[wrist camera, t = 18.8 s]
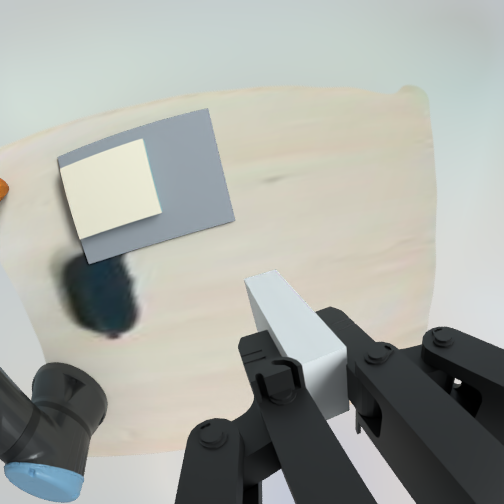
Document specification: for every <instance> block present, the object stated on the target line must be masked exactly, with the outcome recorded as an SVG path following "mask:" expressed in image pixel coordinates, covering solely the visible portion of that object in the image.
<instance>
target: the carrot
mask: <svg viewBox="0 0 504 504" xmlns="http://www.w3.org/2000/svg"><path fill="white" fill-rule="evenodd" d="M8 190H9V186H8V185H7V184H6V182H5V181H4V180H2V179H1V178H0V201H1V200H2V199H3V198H4V196H5V195H6V194H7V192H8Z"/></svg>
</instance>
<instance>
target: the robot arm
mask: <svg viewBox="0 0 504 504" xmlns="http://www.w3.org/2000/svg"><path fill="white" fill-rule="evenodd" d="M244 281H245V285H246V289H247V293H248V297H249V300H250V304H251V308H252V312H253V316H254V319H255V323H256V327H257V330H258V333H255V334H251V335H248V336H245V337H242V338H241V339H240V342H239V345H238V349H239V352H240V355H241V358H242V361H243V364H244V368H245V371H246V374H247V377H248V380H249V382H250V385H251V388H252V391H253V394H254V401H253V403H252V405H251V407H250V408H249V409H248V411H247V412H246V413H244V414H243V415H242V416H240V417H238V418H237V419H235V420H233V421H229V420H227V419H220V418H214V419H210V420H206V421H204V422H202V423H200V424H198V425H197V426H196V427H195V428H194V429H193V430H192V431H191V433H190V435H189V437H188V440H187V445H186V449H185V454H184V459H183V464H182V469H181V474H180V479H179V484H178V489H177V494H176V499H175V504H262V480H264V479H266V478H267V477H269V476H270V475H272V474H273V473H275V472H277V471H278V470H280V469H282V472H283V474H284V477H285V479H286V482H287V484H288V487H289V489H290V491H291V494H292V496H293V498H294V501H295V504H377V502H376V501H375V499H374V497H373V496H372V494H371V493H370V491H369V490H368V488H367V487H366V485H365V483H364V482H363V480H362V478H361V477H360V475H359V474H358V472H357V470H356V469H355V467H354V466H353V464H352V462H351V461H350V459H349V458H348V456H347V454H346V453H345V451H344V449H343V448H342V446H341V445H340V443H339V441H338V440H337V438H336V436H335V435H334V433H333V431H332V430H331V428H330V427H329V425H328V423H327V421H326V420H328V419H330V418H333V417H335V416H337V415H339V414H342V413H344V412H346V411H349V400H350V401H351V403H352V404H353V405H354V407H355V408H356V432H357V434H359V433H361V427H362V428H363V429H364V431H365V432H366V434H367V435H368V436H369V438H370V439H371V441H372V442H373V444H374V445H375V446H376V448H377V449H378V450H379V452H380V453H381V455H382V456H383V458H384V459H385V460H386V462H387V463H388V465H389V466H390V467H391V469H392V470H393V472H394V473H395V475H396V476H397V477H398V479H399V480H400V482H401V483H402V484H403V486H404V487H405V488H406V490H407V491H408V493H409V494H410V495H411V497H412V498H413V499H414V501H415V502H416V504H504V349H501V348H499V347H497V346H494V345H492V344H489V343H487V342H485V341H482V340H480V339H478V338H475V337H473V336H470V335H468V334H466V333H463V332H461V331H458V330H456V329H453V328H449V327H436V328H432V329H431V330H429V331H427V332H426V333H425V335H424V336H423V341H422V345H418V346H414V347H410V348H406V349H398V348H396V347H395V346H393V345H392V344H390V343H385V342H375V341H374V340H373V339H372V338H371V337H369V336H368V335H367V334H366V333H365V332H364V331H363V330H362V329H361V328H360V327H359V326H358V325H357V324H355V323H354V322H353V321H352V320H351V319H349V317H348V316H347V315H346V314H345V313H344V312H343V311H341V310H339V309H336V308H333V307H328V308H325V309H322V310H319V311H317V312H314V311H313V310H312V308H311V307H310V306H309V305H308V304H307V303H306V302H305V301H304V300H303V299H302V297H301V296H300V295H299V294H298V293H297V292H296V291H295V290H294V289H293V288H292V287H291V285H290V284H289V283H288V282H287V281H286V280H285V279H284V278H283V277H282V276H281V274H280V273H279V272H278V271H277V270H276V269H275V270H272V271H269V272H265V273H262V274H259V275H256V276H252V277H249V278H246V279H244ZM455 378H456V379H458V380H461V381H462V383H461V384H455V383H454V380H455ZM107 405H108V404H107V398H106V395H105V393H104V391H103V389H102V388H101V387H100V385H99V384H98V383H97V382H96V381H95V380H94V379H93V378H92V377H91V376H89V375H88V374H87V373H85V372H84V371H82V370H80V369H78V368H76V367H74V366H71V365H68V364H64V363H48V364H45V365H43V366H42V367H41V368H40V369H39V370H38V372H37V373H36V375H35V377H34V379H33V382H32V399H31V400H30V399H29V398H28V397H27V396H26V395H25V394H24V393H23V392H22V391H21V390H20V389H19V388H18V387H17V385H16V384H15V383H14V382H13V381H12V380H11V379H10V378H9V377H8V375H7V374H6V373H5V372H4V371H3V370H2V368H1V367H0V459H1V460H2V461H3V462H4V463H5V466H4V472H5V475H6V477H7V478H8V479H9V481H10V482H12V483H13V484H14V485H15V486H17V487H18V488H20V489H21V490H23V491H25V492H27V493H29V494H31V495H33V496H36V497H38V498H41V499H44V500H48V501H53V502H61V503H62V502H63V503H64V502H71V501H74V500H76V499H77V498H78V497H79V495H80V491H81V488H82V483H83V482H84V472H85V466H86V460H87V455H88V449H89V444H90V439H91V436H92V435H93V433H94V432H95V431H96V429H97V428H98V426H99V425H100V424H101V423H102V422H103V420H104V418H105V415H106V411H107Z"/></svg>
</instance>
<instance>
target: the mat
mask: <svg viewBox="0 0 504 504" xmlns="http://www.w3.org/2000/svg"><path fill="white" fill-rule="evenodd" d="M139 139H143V140H144V142H145V146H146V150H147V155H148V159H149V163H150V167H151V170H152V174H153V178H154V182H155V186H156V189H157V193H158V197H159V200H160V204H161V208H162V213H160V214H156V215H153V216H150V217H147V218H143V219H140V220H137V221H134V222H131V223H128V224H125V225H121V226H118V227H115V228H112V229H109V230H106V231H103V232H100V233H97V234H94V235H92V236H89V237H86V238H83V239H80V240H81V243H82V246H83V249H84V252H85V255H86V257H87V260H88V263H89V264H91V263H94V262H97V261H101V260H104V259H107V258H110V257H113V256H116V255H119V254H123V253H126V252H129V251H132V250H136V249H139V248H142V247H145V246H149V245H152V244H155V243H159V242H162V241H165V240H169V239H172V238H176V237H179V236H182V235H186V234H189V233H193V232H196V231H200V230H203V229H207V228H210V227H214V226H217V225H221V224H224V223H228V222H232V221H235V217H234V213H233V209H232V205H231V201H230V197H229V193H228V189H227V185H226V181H225V176H224V172H223V168H222V164H221V160H220V156H219V152H218V148H217V144H216V139H215V135H214V131H213V127H212V123H211V119H210V114H209V110H208V108H207V109H202V110H198V111H194V112H190V113H186V114H182V115H178V116H174V117H171V118H167V119H163V120H160V121H156V122H153V123H150V124H146V125H143V126H140V127H137V128H134V129H131V130H127V131H124V132H121V133H119V134H116V135H113V136H110V137H107V138H104V139H102V140H99V141H96V142H94V143H91V144H88V145H86V146H83V147H81V148H78V149H76V150H73V151H71V152H69V153H66V154H64V155H62V156H59V157H58V161H59V166H60V168H63V167H65V166H67V165H70V164H72V163H75V162H77V161H80V160H82V159H85V158H87V157H90V156H93V155H95V154H98V153H101V152H103V151H106V150H109V149H112V148H115V147H117V146H120V145H123V144H126V143H129V142H132V141H136V140H139Z"/></svg>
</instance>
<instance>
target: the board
mask: <svg viewBox="0 0 504 504" xmlns="http://www.w3.org/2000/svg"><path fill="white" fill-rule="evenodd" d="M60 172H61V176H62V180H63V184H64V188H65V192H66V196H67V199H68V203H69V207H70V210H71V213H72V217H73V220H74V223H75V226H76V230H77V233H78V236H79V239H83V238H86V237H89V236H92V235H94V234H97V233H100V232H103V231H106V230H109V229H112V228H115V227H118V226H121V225H125V224H128V223H131V222H134V221H137V220H140V219H143V218H147V217H150V216H153V215H156V214H160V213H162V208H161V204H160V200H159V197H158V193H157V189H156V186H155V182H154V178H153V174H152V170H151V167H150V163H149V159H148V155H147V150H146V146H145V142H144V140H143V139H139V140H136V141H132V142H129V143H126V144H123V145H120V146H117V147H115V148H112V149H109V150H106V151H103V152H101V153H98V154H95V155H93V156H90V157H87V158H85V159H82V160H80V161H77V162H75V163H72V164H70V165H67V166H65V167H63V168H60Z"/></svg>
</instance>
